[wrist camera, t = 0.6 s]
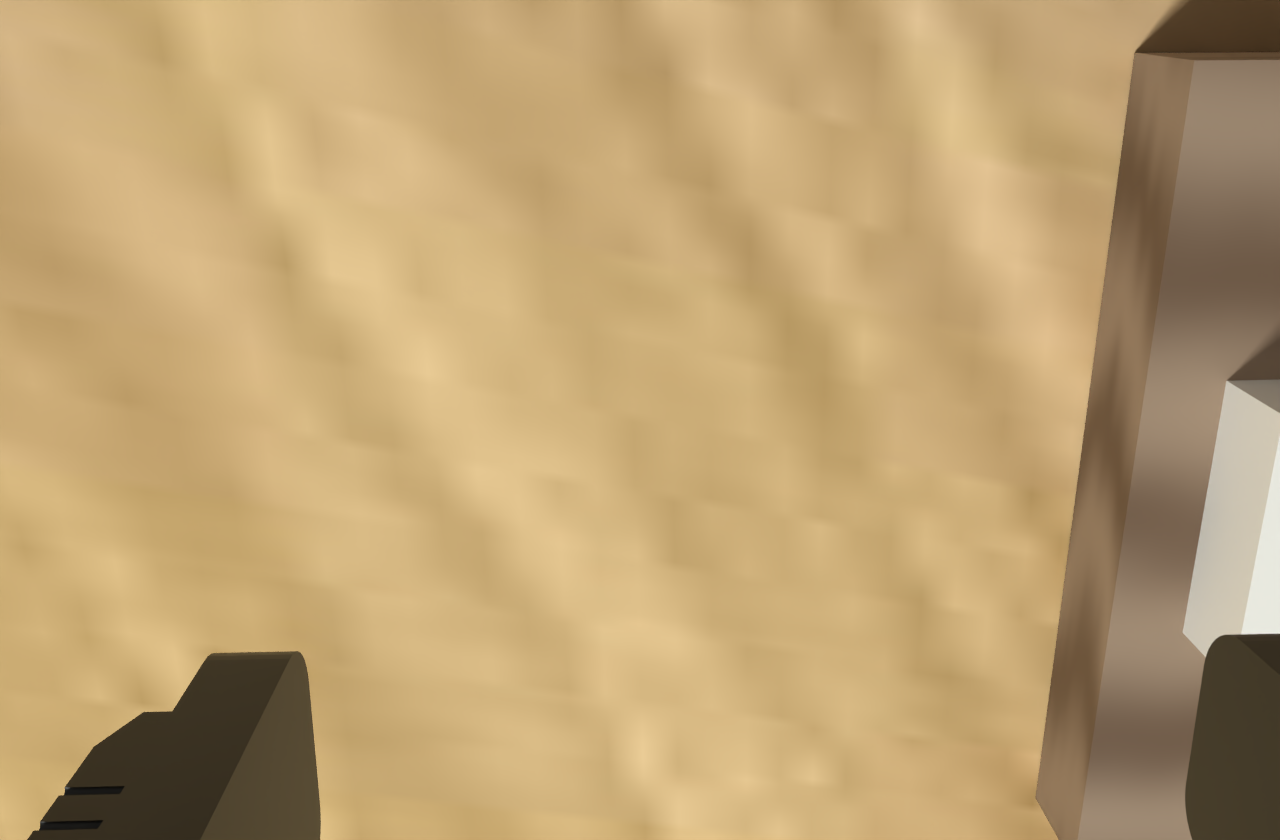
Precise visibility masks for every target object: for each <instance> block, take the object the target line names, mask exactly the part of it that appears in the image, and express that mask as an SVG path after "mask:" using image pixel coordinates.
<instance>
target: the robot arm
mask: <svg viewBox="0 0 1280 840" xmlns="http://www.w3.org/2000/svg"><path fill="white" fill-rule="evenodd" d="M1185 808H1186V816H1187V822H1188V826H1189V831H1190V834H1191V837H1192V840H1280V634H1233V635H1222V636H1219V637H1218V638H1217V639H1215V640H1214V642H1213V643H1212V644H1211V646H1210V648H1209V649H1208V652H1207V655H1206V658H1205V663H1204V668H1203V674H1202V681H1201V688H1200V694H1199V701H1198V707H1197V714H1196V721H1195V727H1194V734H1193V740H1192V747H1191V754H1190V760H1189V767H1188V773H1187V780H1186V788H1185ZM320 824H321V820H320V800H319V789H318V778H317V767H316V756H315V745H314V734H313V723H312V712H311V701H310V690H309V680H308V673H307V667H306V663H305V660H304V658H303V656H302V654H301V653H300V652H298V651H296V652H246V653H213V654H211V655H209V656H208V657H207V658H206V660H205V661H204V663H203V664H202V666H201V667H200V669H199V670H198V672H197V674H196V675H195V677H194V678H193V680H192V681H191V683H190V685H189V686H188V688H187V689H186V691H185V692H184V694H183V696H182V697H181V699H180V700H179V702H178V703H177V705H176V707H175V708H174V710H173V711H172V712H143V713H142V714H140V715H139V716H137V717H136V718H135V719H133V720H132V721H130V722H129V723H127V724H126V725H125V726H123V727H122V728H120V729H119V730H117V731H116V732H115V733H113V734H112V735H110V736H109V737H107V738H106V739H105V740H103V741H102V742H100V743H99V744H97V745H96V746H94V747H93V749H92V750H91V752H90V753H89V754H88V756H87V757H86V759H85V760H84V761H83V763H82V764H81V766H80V767H79V768H78V770H77V771H76V773H75V774H74V775H73V777H72V778H71V780H70V781H69V782H68V784H67V785H66V787H65V794H64V795H63V796H58V798H57V799H56V800H55V802H54V803H53V805H52V806H51V807H50V809H49V810H48V812H47V813H46V814H45V816H44V817H43V819H42V820H41V821H40V829H39V831H33V833H32V834H31V835H30V837H29V838H28V839H27V840H320Z"/></svg>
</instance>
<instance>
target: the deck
mask: <svg viewBox="0 0 1280 840" xmlns="http://www.w3.org/2000/svg"><path fill="white" fill-rule="evenodd" d="M1234 380H1280V52H1184V53H1135V54H1134V62H1133V69H1132V77H1131V85H1130V92H1129V100H1128V107H1127V115H1126V122H1125V130H1124V137H1123V145H1122V152H1121V160H1120V167H1119V175H1118V182H1117V190H1116V197H1115V205H1114V212H1113V220H1112V228H1111V235H1110V243H1109V250H1108V258H1107V265H1106V273H1105V280H1104V288H1103V295H1102V303H1101V310H1100V318H1099V325H1098V333H1097V340H1096V348H1095V355H1094V363H1093V371H1092V378H1091V386H1090V393H1089V401H1088V408H1087V416H1086V423H1085V431H1084V438H1083V446H1082V453H1081V461H1080V468H1079V476H1078V483H1077V491H1076V498H1075V506H1074V514H1073V521H1072V529H1071V536H1070V544H1069V551H1068V559H1067V566H1066V574H1065V581H1064V589H1063V596H1062V604H1061V611H1060V619H1059V626H1058V634H1057V641H1056V649H1055V657H1054V664H1053V672H1052V679H1051V687H1050V694H1049V702H1048V709H1047V717H1046V724H1045V732H1044V739H1043V747H1042V754H1041V762H1040V769H1039V777H1038V784H1037V792H1036V800H1037V801H1038V803H1039V805H1040V807H1041V809H1042V810H1043V812H1044V814H1045V816H1046V817H1047V819H1048V821H1049V823H1050V825H1051V826H1052V828H1053V830H1054V832H1055V833H1056V835H1057V837H1058V839H1059V840H1192V837H1191V834H1190V831H1189V826H1188V822H1187V816H1186V808H1185V788H1186V780H1187V773H1188V767H1189V760H1190V754H1191V747H1192V740H1193V734H1194V727H1195V721H1196V714H1197V707H1198V701H1199V694H1200V688H1201V681H1202V674H1203V668H1204V663H1205V658H1206V657H1205V656H1204V655H1203V654H1202V653H1201V652H1200V651H1199V650H1198V649H1197V648H1196V646H1195V645H1194V644H1193V643H1192V642H1191V641H1190V640H1189V639H1188V638H1187V637H1186V636H1185V635H1184V634H1183V627H1184V622H1185V616H1186V610H1187V604H1188V599H1189V593H1190V587H1191V581H1192V576H1193V570H1194V564H1195V558H1196V553H1197V547H1198V541H1199V535H1200V530H1201V524H1202V518H1203V512H1204V507H1205V501H1206V495H1207V489H1208V484H1209V478H1210V472H1211V466H1212V461H1213V455H1214V449H1215V443H1216V438H1217V432H1218V426H1219V420H1220V415H1221V409H1222V403H1223V397H1224V392H1225V386H1226V381H1234Z"/></svg>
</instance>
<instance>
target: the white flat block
mask: <svg viewBox="0 0 1280 840" xmlns="http://www.w3.org/2000/svg"><path fill="white" fill-rule="evenodd" d="M1183 634H1184V635H1185V636H1186V637H1187V638H1188V639H1189V640H1190V641H1191V642H1192V643H1193V644H1194V645H1195V646H1196V648H1197V649H1198V650H1199V651H1200V652H1201V653H1202V654H1203V655H1204V656H1205V657H1206V655H1207V652H1208V649H1209V648H1210V646H1211V644H1212V643H1213V642H1214V640H1215V639H1217V638H1218V637H1219V636H1222V635H1233V634H1280V380H1234V381H1226V386H1225V392H1224V397H1223V403H1222V409H1221V415H1220V420H1219V426H1218V432H1217V438H1216V443H1215V449H1214V455H1213V461H1212V466H1211V472H1210V478H1209V484H1208V489H1207V495H1206V501H1205V507H1204V512H1203V518H1202V524H1201V530H1200V535H1199V541H1198V547H1197V553H1196V558H1195V564H1194V570H1193V576H1192V581H1191V587H1190V593H1189V599H1188V604H1187V610H1186V616H1185V622H1184V627H1183Z"/></svg>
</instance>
